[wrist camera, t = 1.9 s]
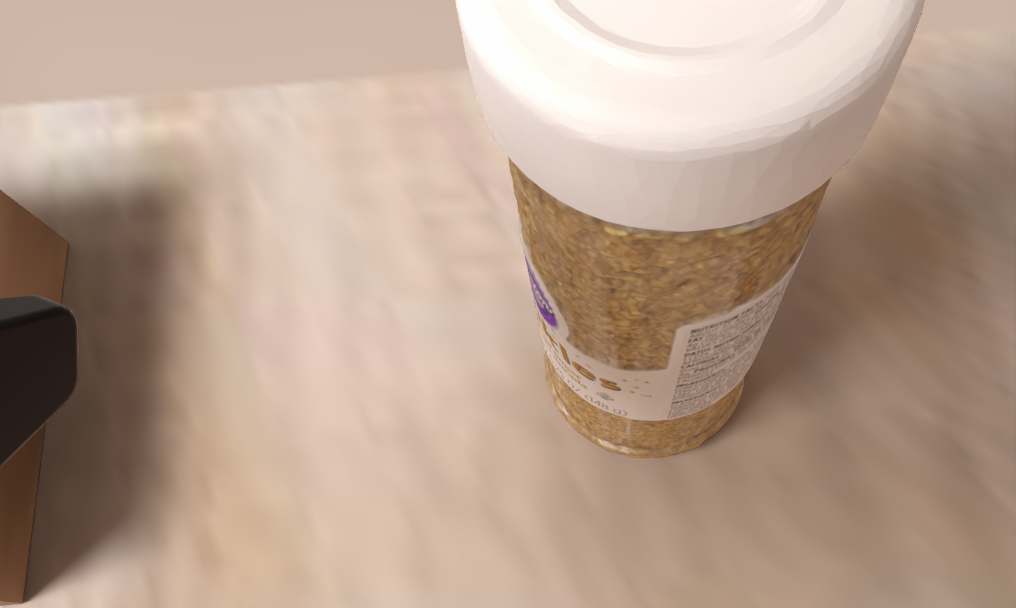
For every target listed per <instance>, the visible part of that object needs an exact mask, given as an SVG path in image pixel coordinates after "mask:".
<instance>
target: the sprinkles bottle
mask: <svg viewBox="0 0 1016 608" xmlns="http://www.w3.org/2000/svg"><path fill="white" fill-rule="evenodd" d="M924 1H925V0H456V6H457V11H458V17H459V22H460V27H461V32H462V37H463V42H464V48H465V53H466V58H467V62H468V66H469V70H470V74H471V78H472V82H473V85H474V89H475V93H476V96H477V100H478V103H479V106H480V109H481V112H482V115H483V117H484V119H485V121H486V123H487V125H488V127H489V129H490V131H491V133H492V135H493V137H494V139H495V140H496V142H497V143H498V144H499V146H500V147H501V148H502V150H503V151H504V152H505V153H506V154H507V156H508V159H509V166H510V171H511V175H512V179H513V186H514V193H515V197H516V200H517V204H518V213H519V229H520V236H521V240H522V245H523V250H524V254H525V259H526V263H527V268H528V272H529V277H530V282H531V286H532V291H533V297H534V303H535V309H536V315H537V320H538V326H539V331H540V334H541V338H542V342H543V345H544V348H545V370H546V380H547V384H548V386H549V389H550V391H551V393H552V396H553V399H554V402H555V405H556V406H557V408H558V409H559V411H560V412H561V413H562V414H563V416H564V417H565V419H566V420H567V421H568V422H569V423H570V424H571V425H572V427H573V428H574V429H575V430H576V431H578V432H579V433H580V434H581V435H583V436H584V437H586V438H587V439H589V440H590V441H592V442H593V443H595V444H596V445H598V446H600V447H602V448H603V449H605V450H607V451H610V452H614V453H617V454H621V455H625V456H629V457H635V458H644V457H654V458H658V457H665V456H669V455H674V454H678V453H680V452H684V451H687V450H691V449H694V448H696V447H698V446H699V445H700V444H702V443H703V442H704V441H705V440H706V439H707V438H709V437H710V436H712V435H713V434H715V433H716V432H717V431H718V430H719V429H720V428H721V427H722V426H723V425H724V424H725V423H726V422H727V420H728V419H729V418H730V416H731V415H732V414H733V412H734V410H735V408H736V406H737V404H738V402H739V400H740V397H741V395H742V392H743V388H744V377H745V374H746V373H747V372H748V370H749V369H750V367H751V365H752V363H753V362H754V360H755V358H756V356H757V354H758V352H759V349H760V347H761V345H762V342H763V340H764V338H765V336H766V334H767V332H768V329H769V327H770V325H771V323H772V321H773V319H774V316H775V314H776V312H777V310H778V307H779V305H780V303H781V300H782V298H783V295H784V293H785V291H786V289H787V286H788V284H789V282H790V280H791V277H792V275H793V273H794V271H795V268H796V266H797V264H798V262H799V260H800V258H801V256H802V253H803V251H804V249H805V246H806V244H807V241H808V239H809V237H810V234H811V232H812V229H813V226H814V222H815V217H816V212H817V210H818V208H819V206H820V204H821V202H822V199H823V196H824V193H825V190H826V188H827V186H828V184H829V181H830V179H831V178H832V176H833V175H834V174H835V173H837V172H838V171H839V170H840V169H841V168H842V167H843V166H844V165H845V163H846V162H847V161H848V160H849V159H850V158H851V157H852V156H853V154H854V153H855V152H856V151H857V150H858V149H859V147H860V146H861V144H862V143H863V141H864V139H865V138H866V136H867V134H868V132H869V131H870V129H871V127H872V126H873V124H874V122H875V120H876V118H877V116H878V114H879V112H880V110H881V107H882V105H883V103H884V101H885V99H886V97H887V95H888V93H889V91H890V88H891V86H892V84H893V81H894V79H895V77H896V74H897V72H898V70H899V67H900V65H901V63H902V61H903V58H904V56H905V54H906V51H907V49H908V47H909V44H910V42H911V40H912V37H913V35H914V32H915V29H916V27H917V24H918V22H919V19H920V16H921V14H922V10H923V5H924Z"/></svg>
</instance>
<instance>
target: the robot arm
mask: <svg viewBox="0 0 1016 608" xmlns="http://www.w3.org/2000/svg"><path fill="white" fill-rule="evenodd" d="M78 375H79V373H78V324H77V319H76V317H75V315H74V312H73V311H72V310H70V309H69V308H68V307H66V306H64V305H61V304H59V303H56V302H54V301H52V300H49V299H47V298H44V297H41V296H36V295H28V296H17V297H6V298H0V467H1V466H2V465H3V464H4V463H5V462H6V461H7V460H8V459H10V458H11V457H12V456H13V455H14V454H15V453H16V452H17V451H18V450H19V449H20V448H21V447H22V446H23V445H24V444H25V443H26V442H27V441H28V440H29V439H30V438H31V437H32V436H33V435H34V434H35V433H36V432H37V431H38V430H39V429H40V428H41V427H42V426H43V425H44V424H45V423H46V422H47V421H48V420H49V419H50V418H51V417H52V416H53V415H54V414H55V413H56V412H57V411H58V410H59V409H60V408H61V407H62V406H63V405H64V404H65V403H66V402H67V401H68V400H69V399H70V397H71V396H72V394H73V393H74V390H75V388H76V386H77V382H78Z"/></svg>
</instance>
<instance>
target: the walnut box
mask: <svg viewBox="0 0 1016 608" xmlns="http://www.w3.org/2000/svg"><path fill="white" fill-rule="evenodd" d="M67 250H68V242H67V241H66V240H64V239H63V238H62V237H60V236H59V235H58V234H57V233H55V232H54V231H53V230H51V229H50V228H49V227H48V226H46V225H45V224H44V223H42V222H41V221H40V220H39V219H37V218H36V217H35V216H33V215H32V214H31V213H29V212H28V211H27V210H26V209H24V208H23V207H22V206H20V205H19V204H18V203H17V202H15V201H14V200H13V199H11V198H10V197H9V196H7V195H6V194H5V193H4V192H2V191H1V190H0V298H6V297H17V296H28V295H36V296H41V297H44V298H47V299H49V300H52V301H54V302H56V303H59V304H61V297H62V289H63V281H64V273H65V266H66V258H67ZM44 431H45V424H44V425H43V426H42V427H41V428H40V429H39V430H38V431H37V432H36V433H35V434H34V435H33V436H32V437H31V438H30V439H29V440H28V441H27V442H26V443H25V444H24V445H23V446H22V447H21V448H20V449H19V450H18V451H17V452H16V453H15V454H14V455H13V456H12V457H11V458H10V459H8V460H7V461H6V462H5V463H4V464H3V465H2V466H1V467H0V605H12V604H23V596H24V588H25V580H26V573H27V565H28V557H29V549H30V541H31V533H32V525H33V517H34V510H35V502H36V494H37V486H38V478H39V470H40V462H41V454H42V447H43V439H44Z"/></svg>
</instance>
